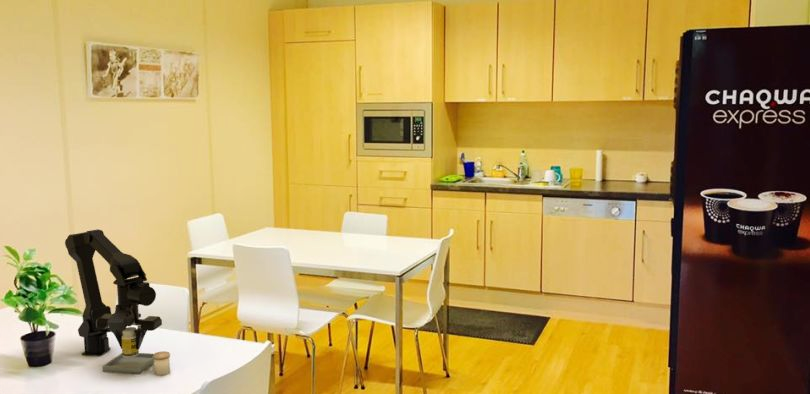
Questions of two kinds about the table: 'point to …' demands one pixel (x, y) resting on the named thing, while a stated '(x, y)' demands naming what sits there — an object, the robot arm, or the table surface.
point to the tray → (129, 364)
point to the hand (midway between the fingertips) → (130, 348)
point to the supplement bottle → (129, 343)
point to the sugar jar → (161, 363)
